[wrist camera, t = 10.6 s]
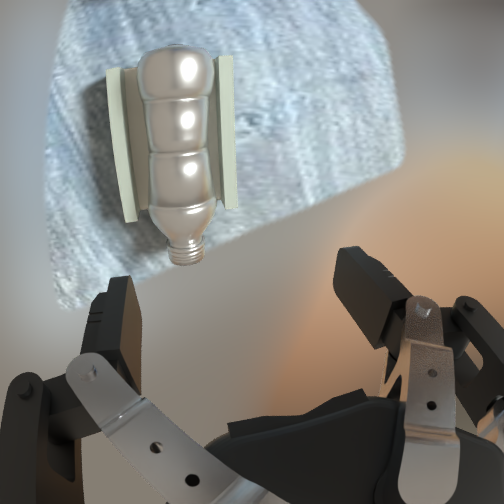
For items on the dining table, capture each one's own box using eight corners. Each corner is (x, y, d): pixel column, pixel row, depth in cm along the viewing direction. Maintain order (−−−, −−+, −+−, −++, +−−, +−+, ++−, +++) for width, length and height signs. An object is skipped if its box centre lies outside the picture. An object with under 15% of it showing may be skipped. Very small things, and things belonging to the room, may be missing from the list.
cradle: (114, 72, 24) (105, 69, 20) (225, 59, 26) (232, 55, 22) (130, 207, 31) (125, 222, 27) (230, 194, 33) (237, 207, 30)
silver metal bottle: (179, 35, 17) (192, 282, 27) (230, 44, 22) (231, 248, 32) (119, 51, 19) (141, 263, 29) (173, 52, 24) (182, 235, 34)
